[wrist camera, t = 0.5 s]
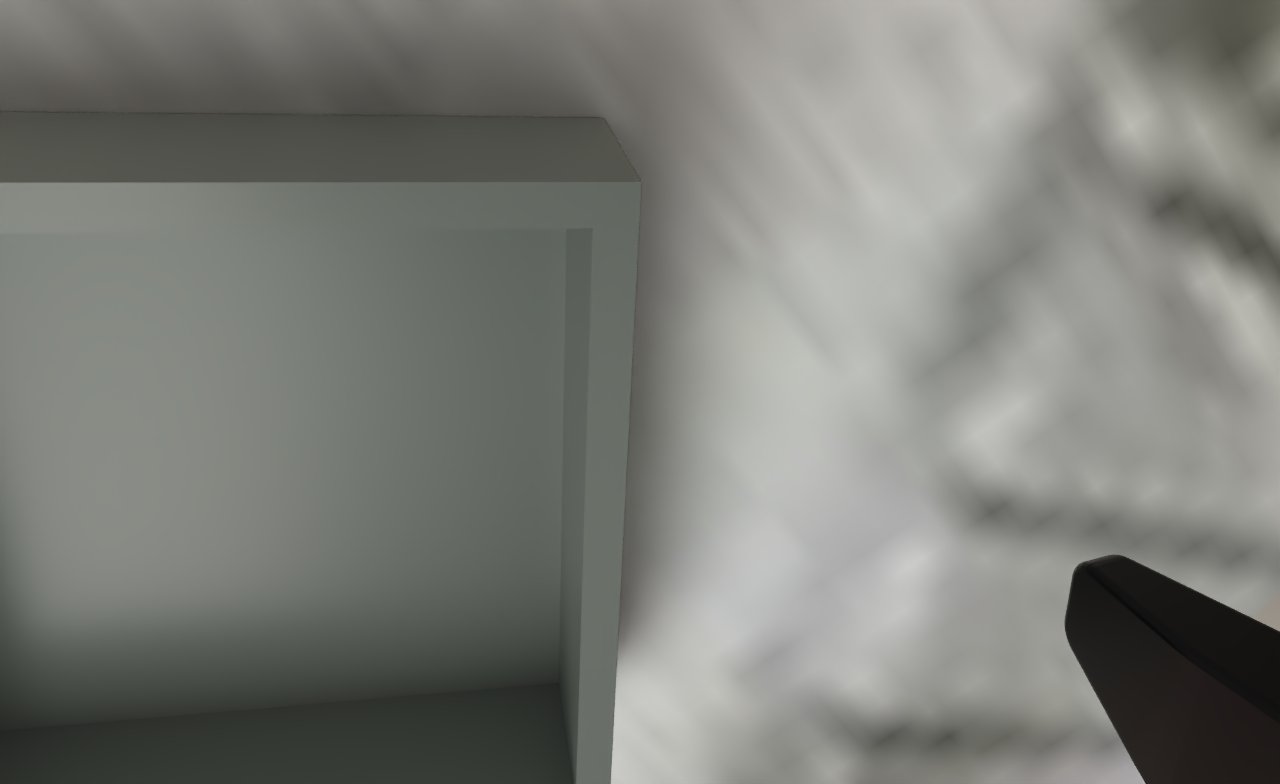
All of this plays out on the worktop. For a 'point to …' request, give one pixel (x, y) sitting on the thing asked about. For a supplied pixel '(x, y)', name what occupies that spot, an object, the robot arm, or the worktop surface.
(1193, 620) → the robot arm
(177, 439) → the tote
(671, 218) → the worktop surface
